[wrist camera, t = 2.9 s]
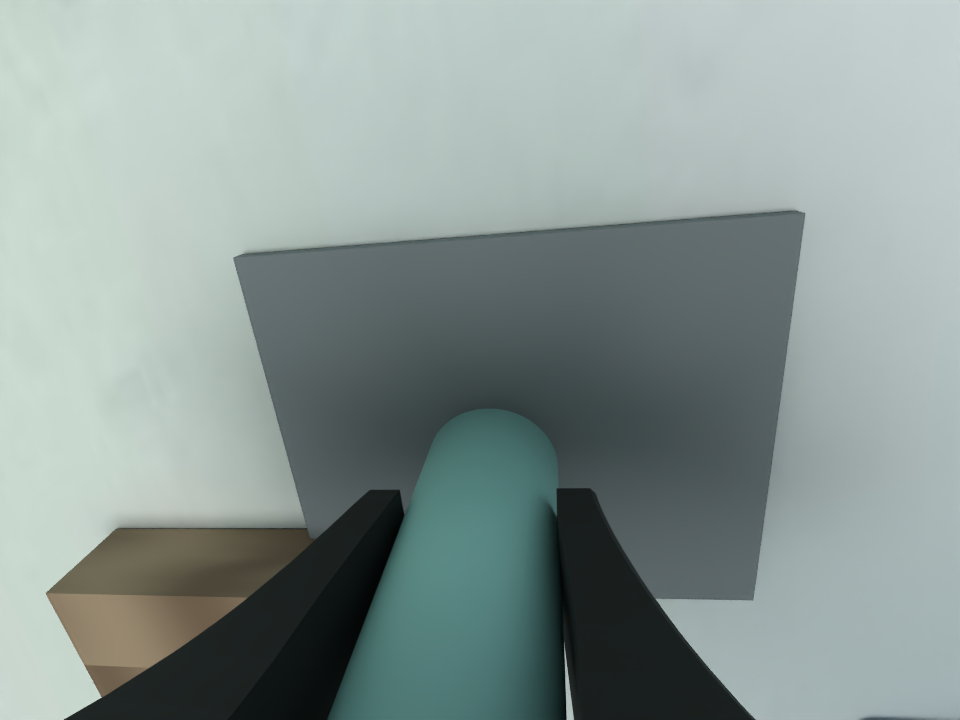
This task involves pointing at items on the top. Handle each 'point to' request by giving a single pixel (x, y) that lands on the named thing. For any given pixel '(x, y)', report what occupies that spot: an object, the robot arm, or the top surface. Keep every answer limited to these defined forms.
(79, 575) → the socket block
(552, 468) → the peg
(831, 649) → the top surface
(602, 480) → the mat
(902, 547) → the top surface
